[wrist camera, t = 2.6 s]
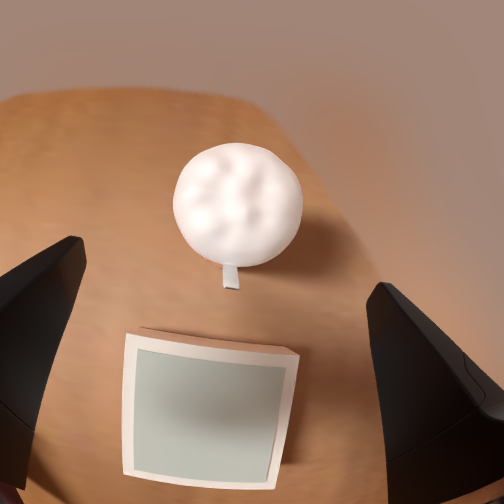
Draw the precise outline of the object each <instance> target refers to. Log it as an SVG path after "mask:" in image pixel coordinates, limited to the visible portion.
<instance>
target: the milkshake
mask: <svg viewBox="0 0 504 504" xmlns="http://www.w3.org/2000/svg"><path fill="white" fill-rule="evenodd" d="M302 210H303V196H302V190H301V186H300V183H299V181H298V179H297V177H296V175H295V174H294V172H293V171H292V170H291V169H290V168H289V167H288V166H287V165H286V164H285V163H284V162H283V161H282V160H280V159H279V158H278V157H277V156H276V155H275V154H273V153H272V152H271V151H269V150H267V149H264V148H261V147H258V146H254V145H249V144H243V143H228V144H223V145H219V146H216V147H213V148H210V149H208V150H205V151H203V152H201V153H199V154H198V155H196V156H195V157H194V158H193V159H191V160H190V161H189V162H188V164H187V165H186V166H185V167H184V169H183V171H182V172H181V174H180V177H179V179H178V182H177V185H176V189H175V193H174V198H173V211H174V216H175V219H176V222H177V224H178V227H179V229H180V231H181V233H182V235H183V236H184V238H185V240H186V241H187V242H188V244H189V245H190V246H191V247H192V248H193V249H194V250H195V251H196V252H197V253H199V254H200V255H201V257H202V258H203V259H204V260H205V261H207V262H209V263H210V264H212V265H214V266H216V267H218V268H223V288H226V289H232V290H240V285H239V277H238V270H237V267H249V266H255V265H259V264H262V263H265V262H267V261H269V260H271V259H273V258H274V257H276V256H277V255H278V254H280V253H281V252H282V251H283V250H284V249H285V248H286V247H287V246H288V245H289V244H290V243H291V241H292V240H293V238H294V237H295V235H296V233H297V231H298V229H299V225H300V222H301V217H302Z"/></svg>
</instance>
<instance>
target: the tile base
mask: <svg viewBox="0 0 504 504" xmlns="http://www.w3.org/2000/svg"><path fill="white" fill-rule="evenodd" d="M299 357H300V356H299V355H298V354H296V353H295V352H293V351H291V350H290V349H288V348H286V347H285V346H273V345H262V344H252V343H242V342H233V341H225V340H217V339H209V338H202V337H195V336H188V335H182V334H175V333H169V332H163V331H158V330H152V329H147V328H141V327H138V328H136V329H134V330H132V331H130V332H128V333H126V342H125V354H124V369H123V389H122V456H123V474H126V475H130V476H134V477H139V478H144V479H149V480H154V481H160V482H166V483H172V484H179V485H187V486H196V487H207V488H221V489H275V485H276V480H277V476H278V471H279V467H280V462H281V458H282V453H283V448H284V443H285V438H286V433H287V428H288V422H289V417H290V412H291V406H292V400H293V395H294V389H295V383H296V376H297V370H298V364H299Z"/></svg>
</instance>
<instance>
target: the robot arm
mask: <svg viewBox="0 0 504 504" xmlns="http://www.w3.org/2000/svg"><path fill="white" fill-rule="evenodd" d="M86 263H87V260H86V254H85V248H84V242H83V239H82V238H81V237H76V236H68V237H66V238H64V239H63V240H61V241H59V242H57V243H55V244H54V245H52V246H50V247H48V248H47V249H45V250H43V251H41V252H40V253H38V254H36V255H35V256H33V257H31V258H30V259H28V260H26V261H25V262H23V263H21V264H20V265H18V266H17V267H15V268H13V269H12V270H10V271H9V272H7V273H6V274H4V275H2V276H1V277H0V482H3V483H5V484H8V485H10V486H13V487H16V488H19V489H21V490H25V487H26V479H27V472H28V465H29V458H30V452H31V447H32V442H33V437H34V431H35V426H36V422H37V418H38V414H39V409H40V406H41V402H42V398H43V394H44V391H45V387H46V384H47V380H48V377H49V374H50V371H51V367H52V364H53V361H54V358H55V355H56V352H57V349H58V347H59V344H60V341H61V338H62V336H63V333H64V330H65V328H66V325H67V322H68V320H69V317H70V315H71V312H72V309H73V306H74V303H75V300H76V296H77V293H78V290H79V287H80V283H81V280H82V277H83V274H84V271H85V268H86ZM366 310H367V319H368V328H369V338H370V348H371V354H372V359H373V365H374V371H375V377H376V383H377V389H378V396H379V402H380V410H381V417H382V425H383V434H384V444H385V454H386V462H387V463H386V468H387V484H388V504H504V390H503V389H502V388H501V387H499V386H498V385H497V384H496V383H495V382H494V381H493V380H492V379H491V378H490V377H489V376H487V374H486V373H485V372H483V370H481V369H480V368H479V367H478V366H477V365H476V364H475V363H474V362H473V361H472V360H471V359H470V358H469V357H468V356H467V355H466V354H465V353H464V352H463V351H462V350H461V349H460V348H459V347H458V346H457V345H456V344H455V343H454V342H453V341H452V340H451V339H450V338H449V337H448V336H447V335H446V334H445V333H444V332H443V331H442V330H441V329H440V328H439V327H438V326H437V325H436V324H435V323H434V322H433V321H431V320H430V319H429V318H428V317H427V316H426V315H425V314H424V313H423V312H422V311H421V310H419V308H418V307H416V306H415V305H414V304H413V303H412V302H411V301H410V300H409V299H408V298H407V297H405V296H404V295H403V294H402V293H401V292H400V291H399V290H398V289H396V288H395V287H394V286H393V285H392V284H390V283H385V282H379V283H378V284H377V285H376V287H375V288H374V290H373V292H372V293H371V295H370V297H369V298H368V300H367V304H366ZM0 504H5V502H4V500H3V498H2V496H1V495H0Z"/></svg>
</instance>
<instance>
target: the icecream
mask: <svg viewBox="0 0 504 504" xmlns="http://www.w3.org/2000/svg"><path fill="white" fill-rule="evenodd" d="M0 495H1V496H2V498H3V500H4V502H5V504H24V503H23V501H22V499H21V497H20V496H19V494H18V492H17V490H16V488H15V487H13V486H10V485H8V484H5V483H3V482H0Z"/></svg>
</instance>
